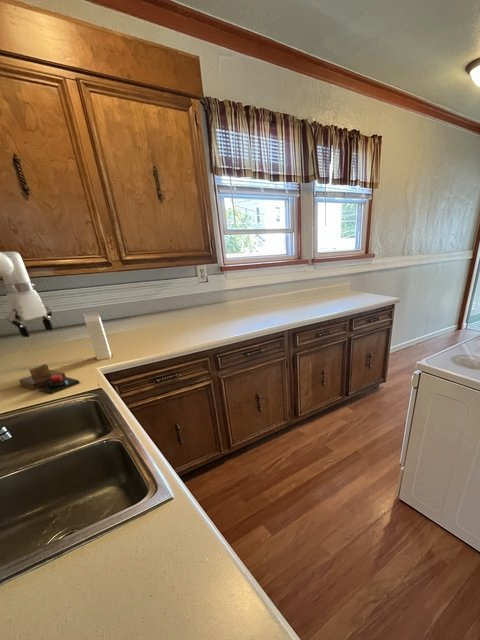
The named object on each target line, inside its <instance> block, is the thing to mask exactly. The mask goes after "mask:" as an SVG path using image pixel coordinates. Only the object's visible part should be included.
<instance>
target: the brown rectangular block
mask: <svg viewBox="0 0 480 640" xmlns="http://www.w3.org/2000/svg"><path fill="white" fill-rule="evenodd" d="M49 370H50V369H49V366H48V365H47V364H45V363H44V364H42V365H39V366H36V367H33V368H29V369H28V371H29V374H30V376H32V378H33V379H38V378H41V377H44V376H47V375H50V374H51V373H50V371H49Z"/></svg>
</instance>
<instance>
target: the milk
mask: <svg viewBox="0 0 480 640" xmlns="http://www.w3.org/2000/svg"><path fill="white" fill-rule="evenodd" d="M83 318H84V323H85V326H86V329H87V332H88V335H89V339H90V342H91V345H92V348H93V351H94V355H95V358H96V360H97V361H99V360H105V359H106V360H107V359H111V358H112V352H111V349H110V346H109V342H108V339H107V336H106V332H105V328H104V325H103V321H102V319H101V317H100V314H99V312H98V311H95V312H87V313H86V312H85V313H83Z"/></svg>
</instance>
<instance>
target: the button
mask: <svg viewBox="0 0 480 640" xmlns="http://www.w3.org/2000/svg"><path fill="white" fill-rule="evenodd" d="M50 378H51V381H52V382H56V381H60V380H62V379H63V378H62V376H61V375H54V376H51V377H50Z"/></svg>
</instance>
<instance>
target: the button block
mask: <svg viewBox="0 0 480 640" xmlns="http://www.w3.org/2000/svg"><path fill="white" fill-rule="evenodd" d="M65 376H66V375H65ZM65 376H62V378H63V379H62V380H60V381H56V382H52V381H51V379H49V380H48V381H47V383H48V384H46V385H43V386H40V387H38V391H39V392H43V393H46V394H49V395H53V394H55V393H57V392H61V391H63V390H66V389H69V388H71V387H74V386H77V385H79V384H80V380H79V379H76V378H71V377H67V376H66V377H65Z"/></svg>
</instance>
